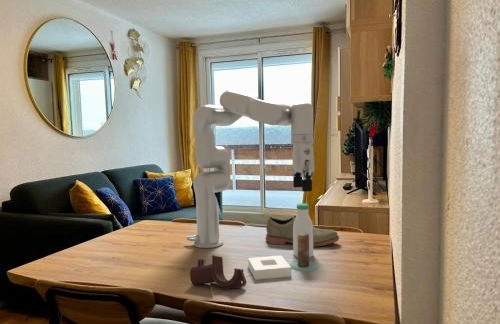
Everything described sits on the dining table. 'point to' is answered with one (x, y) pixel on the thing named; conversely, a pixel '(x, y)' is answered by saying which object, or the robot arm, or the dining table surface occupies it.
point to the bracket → (216, 274)
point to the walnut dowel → (303, 250)
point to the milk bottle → (302, 228)
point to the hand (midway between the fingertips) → (302, 189)
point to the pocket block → (269, 267)
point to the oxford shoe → (283, 233)
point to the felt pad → (311, 267)
